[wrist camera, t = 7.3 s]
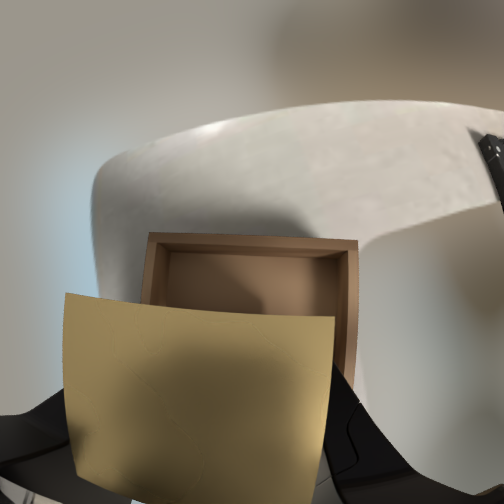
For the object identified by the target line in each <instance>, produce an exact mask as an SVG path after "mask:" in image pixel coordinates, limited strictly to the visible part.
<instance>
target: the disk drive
mask: <svg viewBox="0 0 504 504" xmlns="http://www.w3.org/2000/svg"><path fill="white" fill-rule="evenodd" d="M478 144H479V146H480V148H481V151H482V153H483V156H484V158H485V160H486V162H487V164H488V167H489V169H490V172H491V174H492V177H493V179H494V182H495V185H496V188H497V190H498V193H499V196H500V199H501V201H500V202H501V206H502V210H503V214H504V139H500V140H498V138H497V137H496V136H493V135H489V134H486V135H485V136H484V137H483V139H482V140H481V141H480V142H479V143H478Z"/></svg>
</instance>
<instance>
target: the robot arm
mask: <svg viewBox="0 0 504 504" xmlns="http://www.w3.org/2000/svg"><path fill="white" fill-rule="evenodd" d="M359 402H360V400H359V399H358V397H357V396H356V394H355V393H354V391H353V390H352V388H351V386H350V385H349V383H348V382H347V380H346V379H345V377H344V376H343V374H342V373H341V371H340V369H339V368H338V366H337V365H336V363H335V362H334V360H333V359H332V372H331V383H330V393H329V402H328V410H327V418H326V426H325V433H324V439H323V446H322V452H321V458H320V463H319V469H318V474H317V479H316V484H315V488H314V493H313V498H312V502H311V504H504V484H499V485H496V486H494V487H492V488H490V489H487V490H485V491H483V492H481V493H478V494H476V495H470V494H467V493H464V492H461V491H459V490H456V489H454V488H451V487H448V486H446V485H444V484H441V483H439V482H436V481H434V480H432V479H429V478H427V477H425V476H423V475H422V474H420V473H418V472H417V471H416V470H414V469H413V468H412V467H411V466H410V465H409V464H408V463H407V461H406V460H405V459H404V458H403V457H402V456H401V455H400V453H399V452H398V451H397V450H396V449H395V448H394V447H393V445H392V444H391V443H390V442H389V441H388V439H387V438H386V437H385V436H384V435H383V433H382V432H381V431H380V429H379V428H378V427H377V426H376V424H375V423H374V422H373V420H372V419H371V417H370V416H369V414H368V413H367V411H366V410H365V408H364V406H363V405H362V403H359ZM131 501H132V499H130V498H127V497H124V496H122V495H119V494H117V493H114V492H112V491H109V490H107V489H105V488H102V487H100V486H98V485H96V484H93V483H91V482H89V481H87V480H85V479H83V478H81V477H79V476H77V472H76V468H75V463H74V459H73V454H72V449H71V444H70V438H69V432H68V425H67V417H66V409H65V398H64V388H63V389H61V390H60V391H59V392H57V393H56V394H54V395H53V396H51V397H50V398H49V399H47V400H45V401H44V402H43V403H41V404H39V405H38V406H36V407H35V408H34V409H32V410H30V411H28V412H26V413H23V414H20V415H5V416H0V504H131Z"/></svg>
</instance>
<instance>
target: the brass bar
mask: <svg viewBox="0 0 504 504" xmlns="http://www.w3.org/2000/svg"><path fill="white" fill-rule="evenodd" d="M334 326H335V317H329V316H284V315H261V314H243V313H228V312H214V311H202V310H191V309H181V308H171V307H162V306H153V305H145V304H137V303H129V302H122V301H115V300H108V299H102V298H95V297H88V296H83V295H77V294H71V293H66V294H65V305H64V322H63V385H64V398H65V409H66V417H67V425H68V432H69V438H70V444H71V449H72V454H73V459H74V463H75V468H76V472H77V476H79V477H81V478H83V479H85V480H87V481H89V482H91V483H93V484H96V485H98V486H100V487H102V488H105V489H107V490H109V491H112V492H114V493H117V494H119V495H122V496H124V497H127V498H130V499H133V500H136V501H139V502H142V503H145V504H311V502H312V498H313V493H314V488H315V484H316V479H317V474H318V469H319V463H320V458H321V452H322V446H323V439H324V433H325V426H326V418H327V410H328V402H329V393H330V383H331V372H332V359H333V344H334Z"/></svg>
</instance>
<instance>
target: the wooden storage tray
mask: <svg viewBox="0 0 504 504" xmlns="http://www.w3.org/2000/svg"><path fill="white" fill-rule="evenodd" d="M358 260H359V257H358V240H344V239H325V238H304V237H281V236H257V235H229V234H198V233H158V232H149V237H148V243H147V250H146V258H145V266H144V274H143V283H142V293H141V304H145V305H153V306H162V307H171V308H181V309H191V310H202V311H214V312H228V313H243V314H261V315H284V316H329V317H335V326H334V344H333V360H334V362H335V363H336V365H337V366H338V368H339V369H340V371H341V373H342V374H343V376H344V377H345V379H346V380H347V382H348V383H349V385H350V386H351V388H352V390H353V384H354V374H355V363H356V351H357V333H358V310H359V309H358V308H359V261H358Z"/></svg>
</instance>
